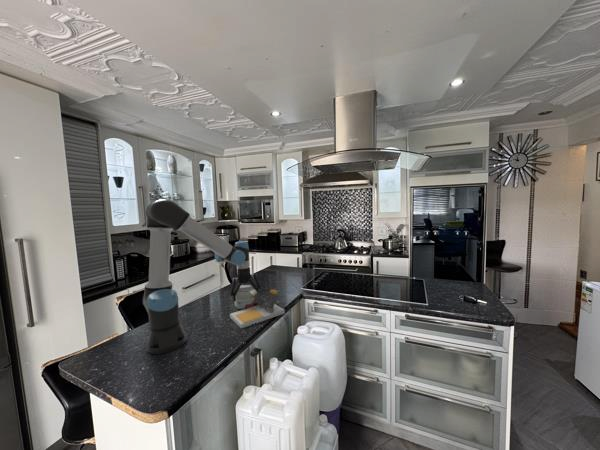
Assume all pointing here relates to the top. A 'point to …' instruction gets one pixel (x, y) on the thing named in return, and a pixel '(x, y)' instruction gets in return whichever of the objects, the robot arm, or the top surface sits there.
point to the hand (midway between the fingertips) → (246, 303)
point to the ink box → (245, 297)
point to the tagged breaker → (271, 299)
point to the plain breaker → (256, 297)
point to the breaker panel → (255, 315)
